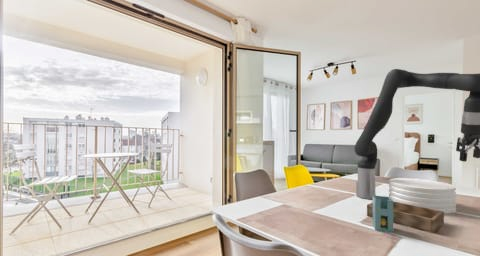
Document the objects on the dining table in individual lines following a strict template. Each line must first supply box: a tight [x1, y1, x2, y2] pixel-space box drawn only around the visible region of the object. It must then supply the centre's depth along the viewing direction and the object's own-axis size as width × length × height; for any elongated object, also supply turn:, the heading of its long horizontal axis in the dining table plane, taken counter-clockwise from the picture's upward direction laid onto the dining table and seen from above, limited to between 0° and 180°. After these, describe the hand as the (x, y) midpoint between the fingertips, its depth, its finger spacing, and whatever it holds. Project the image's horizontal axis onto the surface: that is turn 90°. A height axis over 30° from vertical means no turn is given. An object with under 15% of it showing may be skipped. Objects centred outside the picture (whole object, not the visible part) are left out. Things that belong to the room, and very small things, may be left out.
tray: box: [366, 201, 445, 234], centre depth 103 cm, size 24×16×5 cm, turn 39°
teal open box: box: [372, 195, 394, 234], centre depth 93 cm, size 6×6×12 cm
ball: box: [381, 218, 387, 226], centre depth 93 cm, size 3×3×3 cm
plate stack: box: [388, 177, 457, 214], centre depth 125 cm, size 28×28×12 cm
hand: (469, 159), depth 101 cm, fingers open, 8 cm apart
